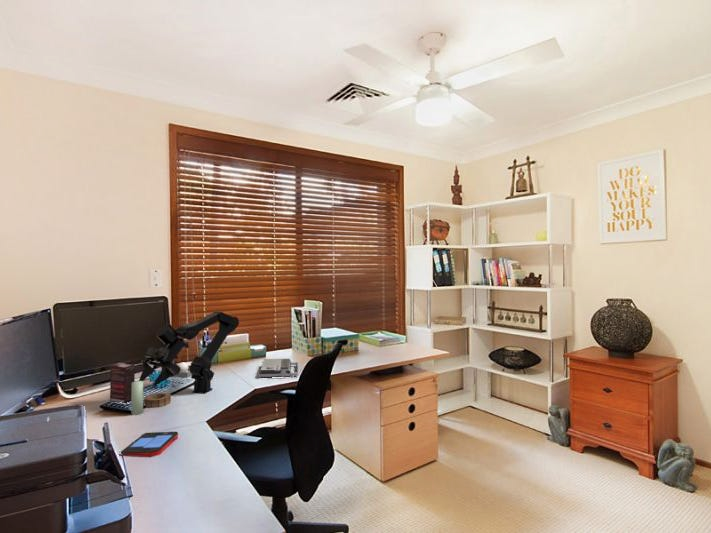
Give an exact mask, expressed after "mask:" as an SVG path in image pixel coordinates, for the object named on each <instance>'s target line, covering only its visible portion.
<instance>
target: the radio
mask: <svg viewBox="0 0 711 533" xmlns="http://www.w3.org/2000/svg"><path fill="white" fill-rule="evenodd" d="M261 363H262V364H261V368H260V370H259V372H258V378H259V379H260V378H267V379H273V378H272V377H290V378H291V377H293V376H299V371H298V370H299V369H298V367H299V366H298V364H299V363H298V361H295V362H293V361H291V358H263V361H261ZM292 366H295V372H294V371H293V372H291V371H292V370H291V369H292Z"/></svg>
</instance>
